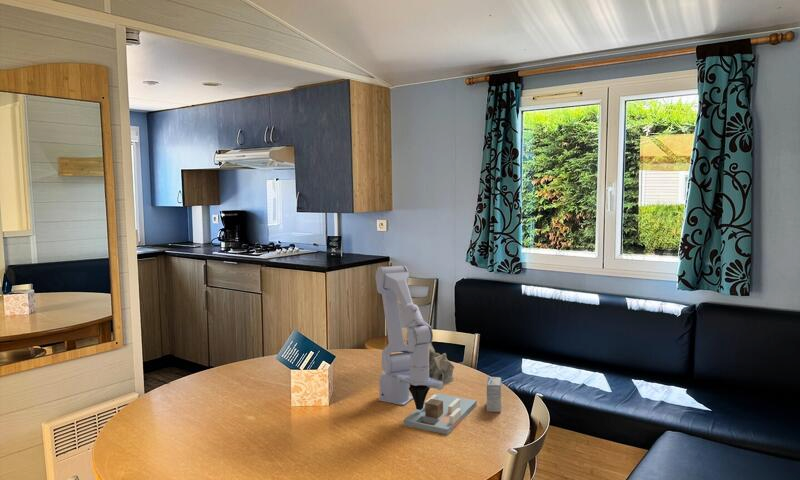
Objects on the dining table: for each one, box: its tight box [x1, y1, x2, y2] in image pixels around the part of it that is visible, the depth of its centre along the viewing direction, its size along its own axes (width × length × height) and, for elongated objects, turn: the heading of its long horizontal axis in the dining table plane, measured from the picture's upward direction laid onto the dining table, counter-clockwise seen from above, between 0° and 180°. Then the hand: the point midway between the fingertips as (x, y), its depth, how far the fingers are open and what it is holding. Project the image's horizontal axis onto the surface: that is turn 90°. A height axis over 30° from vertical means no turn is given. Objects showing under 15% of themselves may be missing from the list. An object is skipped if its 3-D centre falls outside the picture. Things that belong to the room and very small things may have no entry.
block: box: [424, 399, 443, 419], centre depth 167 cm, size 4×4×4 cm
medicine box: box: [486, 376, 503, 413], centre depth 176 cm, size 8×4×9 cm, turn 168°
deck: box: [403, 392, 478, 436], centre depth 171 cm, size 14×24×4 cm, turn 153°
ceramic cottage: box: [409, 342, 455, 385], centre depth 202 cm, size 16×16×15 cm
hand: (419, 408), depth 169 cm, fingers closed
